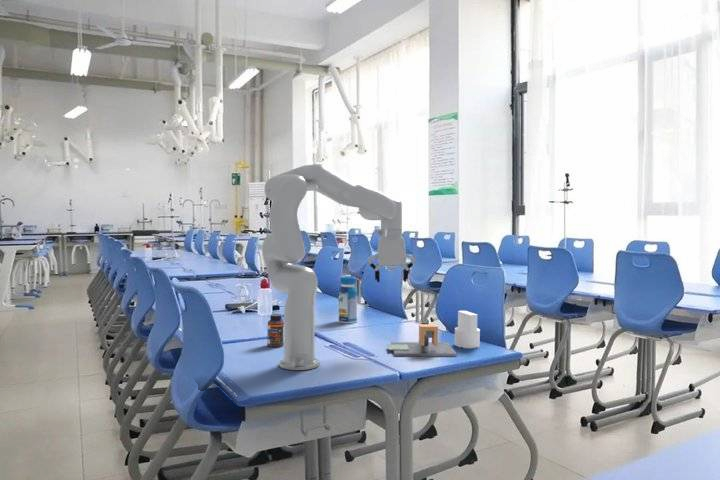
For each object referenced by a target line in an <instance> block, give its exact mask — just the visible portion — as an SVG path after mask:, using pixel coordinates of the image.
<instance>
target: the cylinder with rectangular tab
mask: <svg viewBox="0 0 720 480" xmlns="http://www.w3.org/2000/svg"><path fill="white" fill-rule="evenodd" d="M480 336H481V329H480V328H478V314H477V313H474V312H470V311H468V310H458V311H457V327H455V328H454V346H455V347H457V346H458V348H461V347H463V349H476V347H477V348H480V346H481V345H480V341H481V340H480V339H481V338H480Z"/></svg>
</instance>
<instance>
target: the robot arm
mask: <svg viewBox="0 0 720 480" xmlns="http://www.w3.org/2000/svg"><path fill="white" fill-rule="evenodd" d="M311 191H315V192H317V193H319V194H321V195H322V196H324V197H326V198H328V199H331V200H332V201H334V202H336V203H337V204H338V205H339V204H340V205H341V206H346V207H351V208H353V207H354V208H358V212H359V215H360V217H362V218H363V219H364V220H367V221H380V230H376V235H377V236H380V237H379V238H378V241H377V242H378V243H377V252H376V253H375V254H373V255H372V256H370V257H367V258H366V259H367V262H368V264H369V266H370V268H372V269H373V270H374V280H376V282H377V283H380V281H381V280H380V276H381V275H380V274H381V273H380V269H381V267H402V268H403V270H402V273H403V274H402V277H403V279H402V281H403V282H405V283H406V282H407V280H409V270H410V269H412V267H413V266H414V263H415V262H416V257H414V256H412V255H410V254H408V253H407V251H406V250H407V249H406V240H405V237H403V219H402V218H403V215H402V214H403V203H402V201H401V200H400V199H397V198H396V199H392V198H390V197H389V196H388V195H386V194H384V193H383V192H381V191H378V190H377V189H374V188H371V187H369V186H366V185H363V184H360V183H358V182H355V181H352V180H350V179H349V178H347V177H346V176H344V175H341V174H340V173H339V172H337V171H335V170H333V169H331V168H329V167H328V166H326V165H324V164H320V163H314V164H307V165H306V164H305V165H302V166H299V167H295V168H293V169H290V170H287V171H285V172H282V173H280V174H276V175H273V176H271V177H269V179H267V181H266V182H265V185H264V194H265V196H266V199H268V200H269V201H271V202H272V203H271V206H270V209H269V214H268V216H269V217H268V219H269V225H270V229H271V233H269V234H268V235H266V236H265V238H264V240H263V242H262V246H261V247H262V248H261V252H262V257H263V261H264V264H265V268H266V272H267V274H268V277H269V281H270V284H271V286H272V287H273V288H274V289H275V290H276V291H277V292H279V293H283V294H287V297H286V299H285V303H284V310H283V312H284V313H283V316H284V317H283V318H284V320H283V321H284V345H283V346H284V355H283V356H284V358H283V359H281V360H280V361H279V367H280V368H282V369H284V370H288V371H307V370H312V369H315V368H318V367H319V366H320V360H319V358H315V357H316V356H315V339H316V337H315V335H316V334H315V333H316V332H315V327H316V325H315V323H316V322H315V321H316V320H315V317H316V316H315V308H316V307H315V306H316V304H315V303H316V295H317V291H318V284H319V283H318V281H319V280H318V277H317V275H316V272H315V271H314V270H313V269H312V268H310V267H308V266H305V265H300V264H296V263H299V262H301V261H302V260H303V259H304V257H305V255H306V249H305V243H304V239H303V236H302V235H303V234H302V231H301V228H300V224H299V220H298V210H299V207H300V205H301V203H302V201H303V199H304V198H305V196H307V195H306V194H307V192H311ZM375 259H376V261H377V264H376V265H375V264H374V262H373V261H374V260H375ZM407 259H409V260H410V261H409V263H408V264H407V265H406V263H407Z"/></svg>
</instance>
